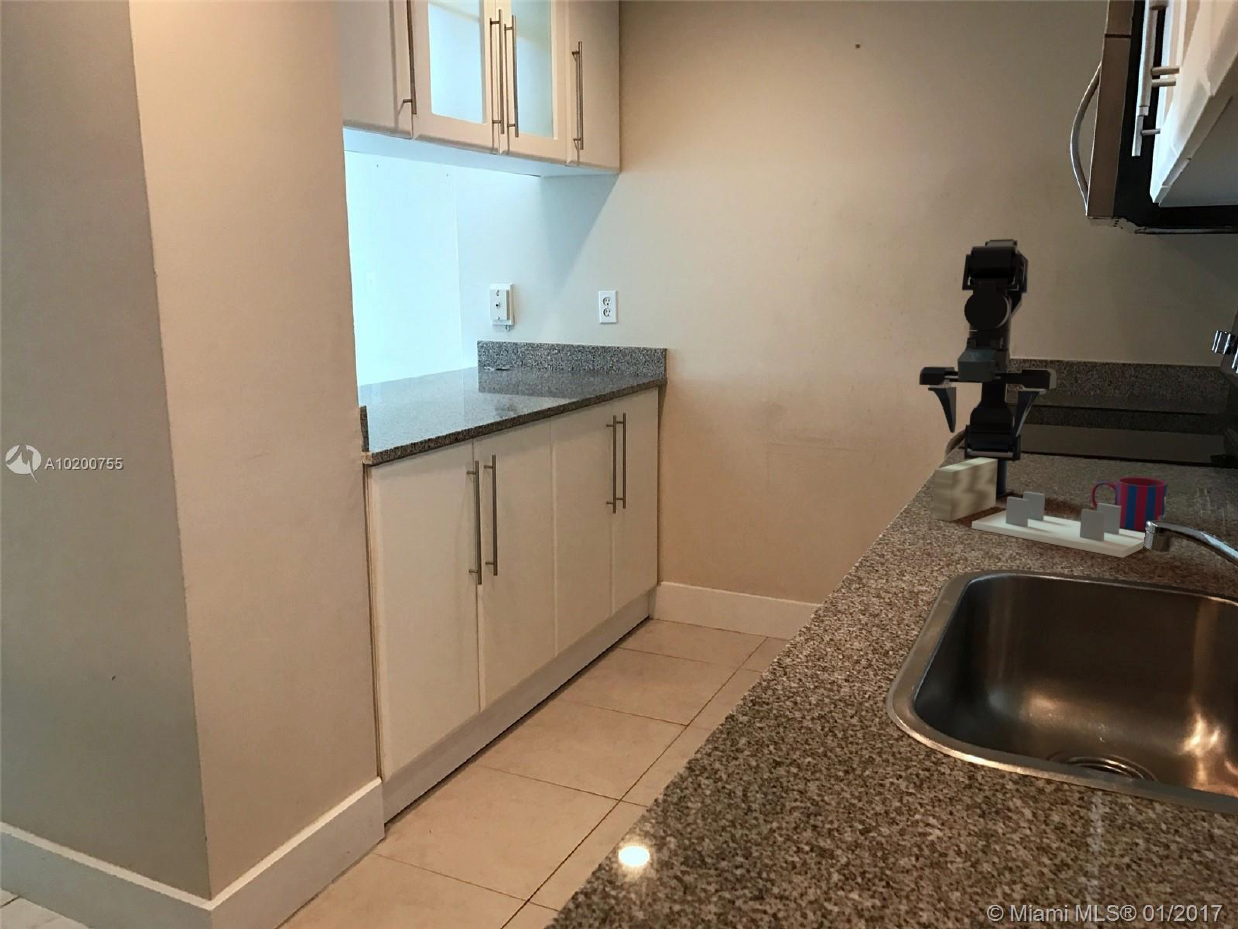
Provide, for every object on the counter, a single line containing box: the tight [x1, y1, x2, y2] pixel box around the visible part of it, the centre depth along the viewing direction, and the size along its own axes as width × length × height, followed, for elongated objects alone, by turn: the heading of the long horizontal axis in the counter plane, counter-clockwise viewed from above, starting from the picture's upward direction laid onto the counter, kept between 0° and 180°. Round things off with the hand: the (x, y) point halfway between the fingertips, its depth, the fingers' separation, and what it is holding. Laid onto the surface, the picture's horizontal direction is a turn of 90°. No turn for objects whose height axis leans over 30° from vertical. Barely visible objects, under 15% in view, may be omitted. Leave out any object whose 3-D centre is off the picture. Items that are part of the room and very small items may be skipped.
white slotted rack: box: [971, 490, 1146, 559], centre depth 141 cm, size 11×22×5 cm, turn 41°
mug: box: [1090, 476, 1168, 532], centre depth 146 cm, size 7×10×7 cm
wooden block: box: [932, 457, 998, 522], centre depth 155 cm, size 14×4×8 cm, turn 131°
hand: (983, 434), depth 146 cm, fingers open, 9 cm apart
